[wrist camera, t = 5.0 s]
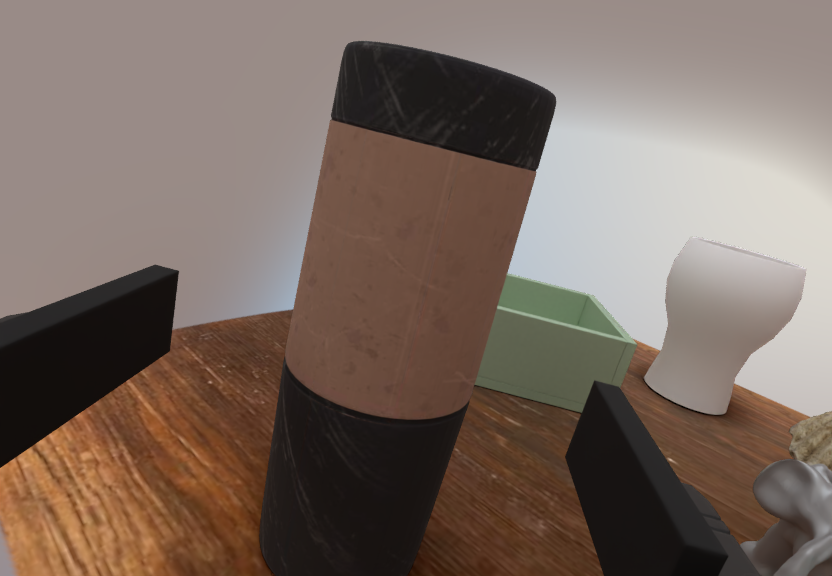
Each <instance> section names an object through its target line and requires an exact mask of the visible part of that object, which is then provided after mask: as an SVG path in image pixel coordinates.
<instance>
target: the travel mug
mask: <svg viewBox="0 0 832 576" xmlns="http://www.w3.org/2000/svg"><path fill="white" fill-rule="evenodd" d="M555 106H556V97H555V96H554V94H553V93H551V92H550V91H548V90H547V89H545V88H543V87H541V86H539V85H537V84H535V83H533V82H531V81H528V80H526V79H523V78H520V77H518V76H515V75H513V74H510V73H507V72H504V71H501V70H498V69H495V68H491V67H488V66H485V65H482V64H478V63H475V62H471V61H468V60H464V59H460V58H456V57H453V56H449V55H445V54H440V53H436V52H432V51H427V50H422V49H417V48H413V47H407V46H402V45H396V44H389V43H381V42H370V41H356V42H351V43H348V44H347V46H346V47H345V50H344V53H343V57H342V62H341V67H340V72H339V77H338V82H337V88H336V93H335V98H334V103H333V108H332V113H331V117H332V120H330V124H329V129H328V134H327V139H326V145H325V150H324V155H323V160H322V165H321V170H320V176H319V180H318V186H317V191H316V196H315V202H314V206H313V212H312V217H311V222H310V227H309V232H308V237H307V242H306V247H305V252H304V258H303V263H302V268H301V273H300V278H299V284H298V288H297V294H296V299H295V304H294V309H293V314H292V319H291V324H290V329H289V334H288V340H287V345H286V350H285V358H284V362H283V369H282V376H281V383H280V390H279V396H278V403H277V410H276V417H275V423H274V430H273V437H272V444H271V451H270V457H269V464H268V471H267V478H266V484H265V491H264V498H263V506H262V513H261V521H260V535H259V537H260V546H261V550H262V553H263V557H264V559H265V561H266V563H267V565H268V566H269V568H270V569H271V571H272V572H273V573H274V574H275V576H407V575H408V573H409V571H410V570H411V568H412V565H413V563H414V560H415V558H416V555H417V552H418V550H419V547H420V544H421V541H422V539H423V536H424V533H425V530H426V527H427V524H428V521H429V518H430V515H431V512H432V510H433V507H434V504H435V501H436V498H437V495H438V492H439V489H440V486H441V483H442V480H443V477H444V474H445V472H446V469H447V466H448V463H449V460H450V457H451V454H452V451H453V448H454V445H455V442H456V439H457V436H458V433H459V431H460V428H461V425H462V422H463V419H464V416H465V413H466V410H467V407H468V404H469V399H470V397H471V395H472V392H473V388H474V385H475V382H476V378H477V375H478V371H479V368H480V365H481V361H482V358H483V354H484V351H485V347H486V344H487V341H488V337H489V334H490V330H491V327H492V323H493V320H494V317H495V313H496V310H497V306H498V303H499V299H500V296H501V293H502V289H503V286H504V282H505V279H506V276H507V272H508V269H509V265H510V262H511V258H512V255H513V251H514V248H515V244H516V241H517V238H518V234H519V231H520V228H521V224H522V221H523V217H524V214H525V211H526V206H527V204H528V200H529V197H530V193H531V190H532V187H533V183H534V180H535V176H536V169H537V168H538V166H539V162H540V159H541V156H542V152H543V149H544V146H545V142H546V138H547V135H548V132H549V128H550V125H551V121H552V118H553V115H554V111H555Z"/></svg>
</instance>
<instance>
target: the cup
mask: <svg viewBox="0 0 832 576" xmlns="http://www.w3.org/2000/svg"><path fill="white" fill-rule="evenodd" d="M805 275H806V269H805V268H804V267H801V266H799V265H796V264H793V263H790V262H787V261H784V260H781V259H778V258H774V257H771V256H768V255H764V254H761V253H757V252H754V251H750V250H747V249H743V248H740V247H736V246H732V245H728V244H724V243H721V242H716V241H713V240H708V239H704V238H699V237H691V238H690V239H689V240H688V242H687V243H686V244H685V246H684V247H683V249H682V250H681V252H680V253H679V254H678V256H677V257H676V259H675V260H674V263H673V266H672V268H671V271H670V273H669V276H668V278H667V287H666V299H665V302H666V310H667V318H668V327H667V331H666V336H665V339H664V343H663V347H662V350H661V351H660V353H659V354H658V356H657V357H656V359H655V360H654V362H653V363H652V365H651V366H650V368H649V370H648V372H647V373H646V375H645V377H644V379H645V382H646V383H647V384H648V386H650V387H651V388H652V389H653V390H654V391H656V392H657V393H659V394H660V395H662V396H663V397H665V398H667V399H669V400H671V401H673V402H675V403H677V404H680V405H682V406H684V407H687V408H690V409H692V410H695V411H699V412H703V413H707V414H713V415H722V414H724V413H726V411H727V408H728V405H729V402H730V398H731V394H732V389H733V385H734V381H735V377H736V375H737V374H738V372H739V371H740V369H741V368H742V367H743V365H744V364H745V362H746V361H747V359H748V358H749V356H750V355H751V354H752V353H753V352H755V351H756V350H757V349H759V348H760V347H762V346H763V345H765V344H766V343H767V342H769V341H770V340H772V339H773V338H774V337H775V336H776V335H777V334H778V333H779V331H781V330H782V328H783V327H784V326H785V325H786V324H787V323H788V322H789V321H790V320H791V319H792V317H793V314H794V312H795V310H796V308H797V306H798V304H799V302H800V300H801V297H802V292H803V286H804V280H805Z"/></svg>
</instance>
